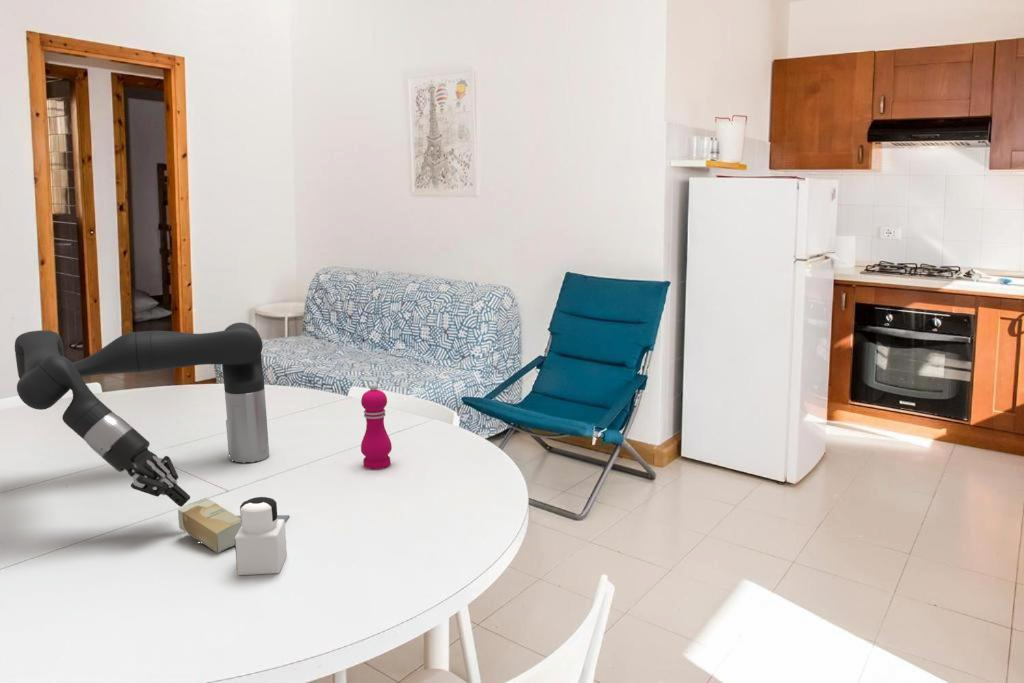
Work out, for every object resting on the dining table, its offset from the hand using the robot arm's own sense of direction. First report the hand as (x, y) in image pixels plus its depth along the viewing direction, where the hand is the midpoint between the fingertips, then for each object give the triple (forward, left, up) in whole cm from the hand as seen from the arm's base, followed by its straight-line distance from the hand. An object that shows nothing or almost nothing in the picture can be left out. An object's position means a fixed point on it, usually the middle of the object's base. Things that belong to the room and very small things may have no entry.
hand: (186, 502), depth 156 cm
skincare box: (+2, 0, -2) cm, 2 cm away
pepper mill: (-1, +48, -6) cm, 48 cm away
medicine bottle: (+24, +1, -6) cm, 25 cm away
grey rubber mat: (+8, +7, -6) cm, 12 cm away
